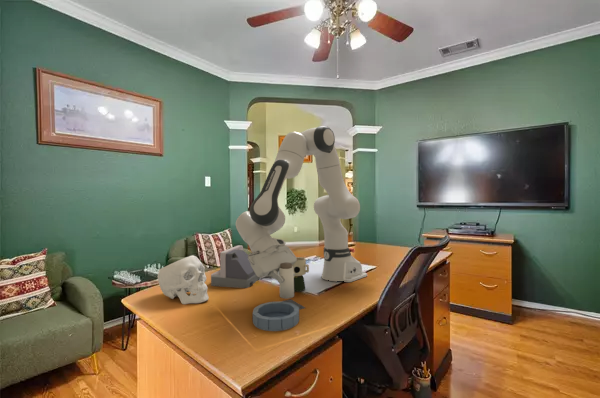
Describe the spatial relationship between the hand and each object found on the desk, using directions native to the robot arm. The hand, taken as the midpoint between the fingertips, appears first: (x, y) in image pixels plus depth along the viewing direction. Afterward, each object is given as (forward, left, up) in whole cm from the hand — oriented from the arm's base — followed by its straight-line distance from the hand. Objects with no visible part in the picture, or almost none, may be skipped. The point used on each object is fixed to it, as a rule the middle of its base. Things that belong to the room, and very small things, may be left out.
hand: (288, 279), depth 98 cm
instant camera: (+3, -41, -10) cm, 42 cm away
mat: (+1, -1, -10) cm, 10 cm away
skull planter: (+28, -31, -10) cm, 43 cm away
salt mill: (0, -1, -6) cm, 6 cm away
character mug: (-12, -14, -10) cm, 21 cm away
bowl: (+9, +7, -10) cm, 15 cm away
